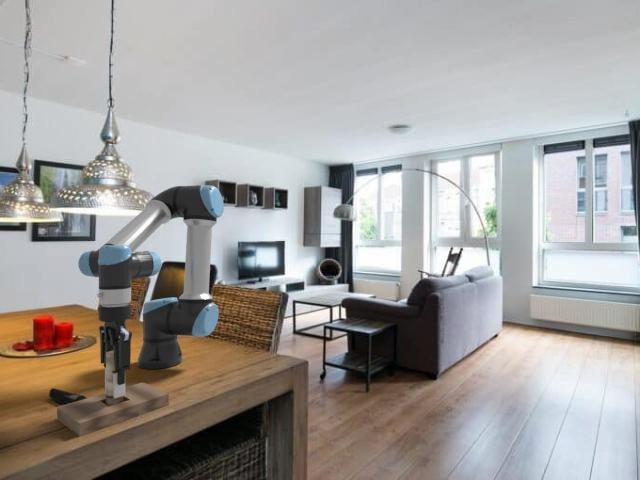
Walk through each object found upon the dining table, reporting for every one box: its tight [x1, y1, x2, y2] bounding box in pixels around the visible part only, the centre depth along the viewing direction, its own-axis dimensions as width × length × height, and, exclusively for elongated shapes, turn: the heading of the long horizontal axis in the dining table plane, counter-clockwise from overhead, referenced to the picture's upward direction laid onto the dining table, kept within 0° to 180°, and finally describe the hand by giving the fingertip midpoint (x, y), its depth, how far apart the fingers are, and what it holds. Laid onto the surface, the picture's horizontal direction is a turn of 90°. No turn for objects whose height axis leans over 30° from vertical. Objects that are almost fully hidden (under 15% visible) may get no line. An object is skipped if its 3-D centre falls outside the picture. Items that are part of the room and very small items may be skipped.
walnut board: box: [56, 382, 170, 437], centre depth 104 cm, size 22×14×3 cm, turn 141°
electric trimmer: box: [48, 387, 88, 404], centre depth 110 cm, size 4×16×3 cm, turn 62°
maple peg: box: [106, 350, 123, 406], centre depth 104 cm, size 4×4×14 cm
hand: (115, 393), depth 104 cm, fingers closed on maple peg, 4 cm apart
